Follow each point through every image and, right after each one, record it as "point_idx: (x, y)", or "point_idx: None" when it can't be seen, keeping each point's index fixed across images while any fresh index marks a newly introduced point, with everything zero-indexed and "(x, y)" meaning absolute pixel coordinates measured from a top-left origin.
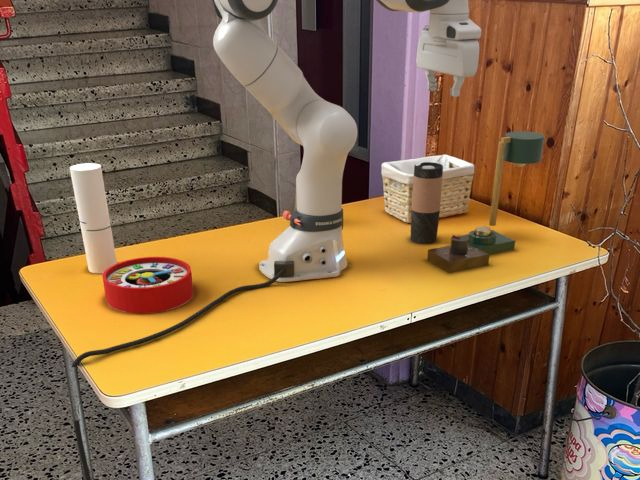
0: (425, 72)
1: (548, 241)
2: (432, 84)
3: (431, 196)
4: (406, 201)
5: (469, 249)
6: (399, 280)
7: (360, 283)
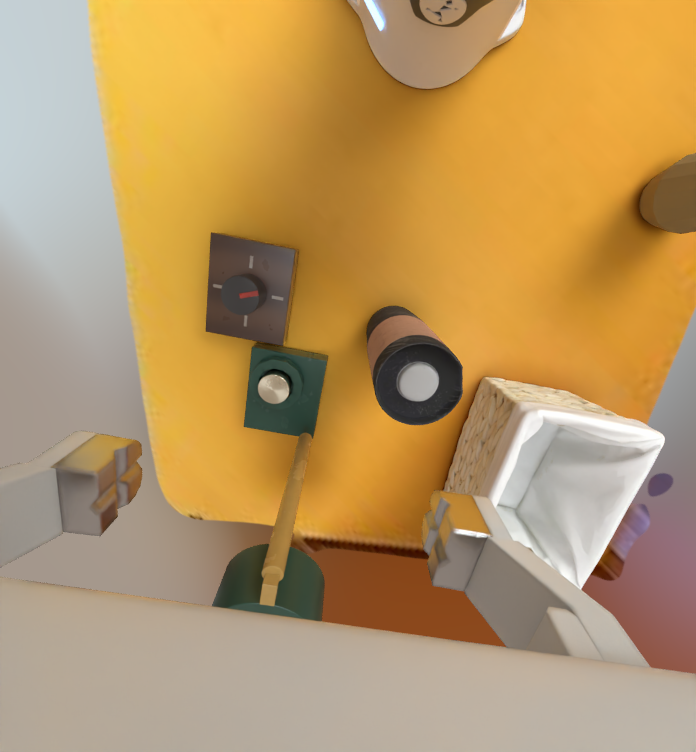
0: (626, 637)
1: (251, 490)
2: (445, 536)
3: (373, 344)
4: (506, 389)
5: (245, 318)
6: (244, 111)
7: (277, 11)
